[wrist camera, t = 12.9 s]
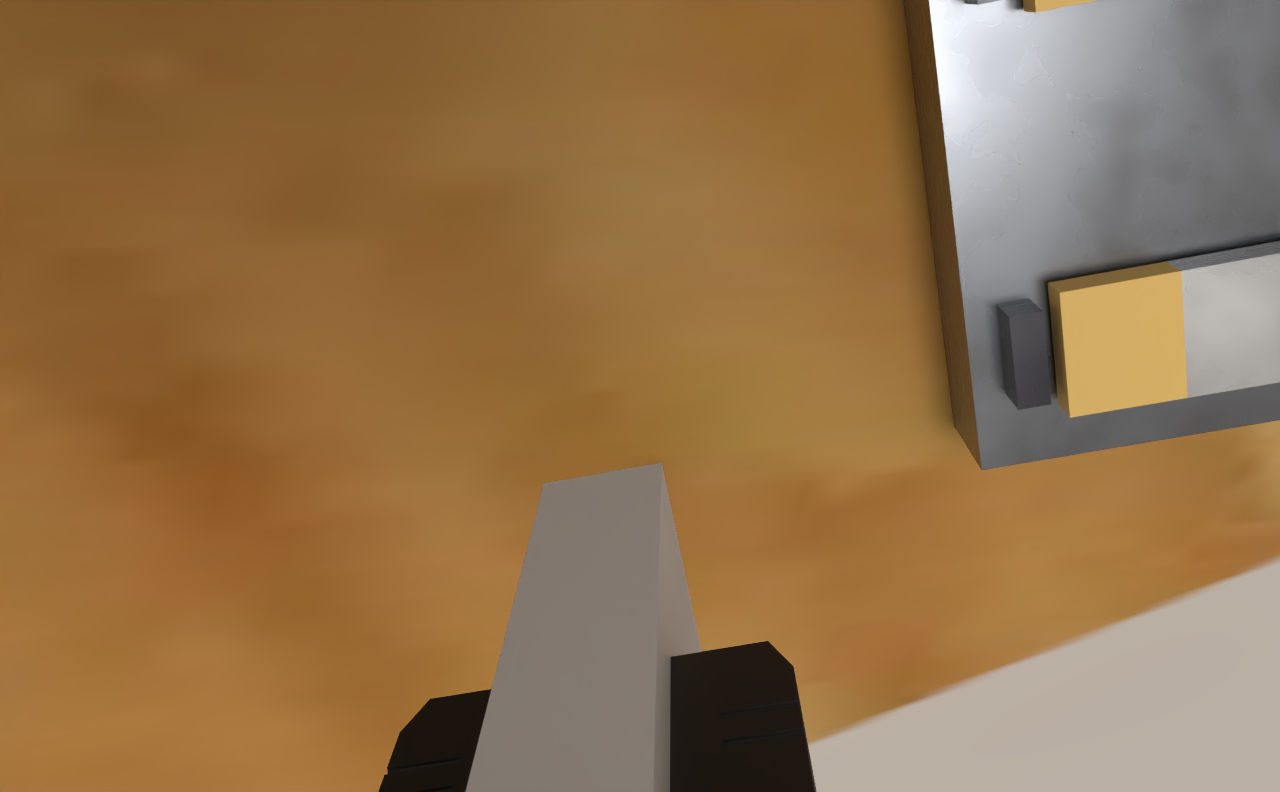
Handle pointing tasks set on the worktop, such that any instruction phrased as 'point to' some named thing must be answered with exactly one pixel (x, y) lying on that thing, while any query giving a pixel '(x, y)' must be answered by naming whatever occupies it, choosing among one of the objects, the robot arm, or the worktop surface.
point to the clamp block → (1085, 189)
